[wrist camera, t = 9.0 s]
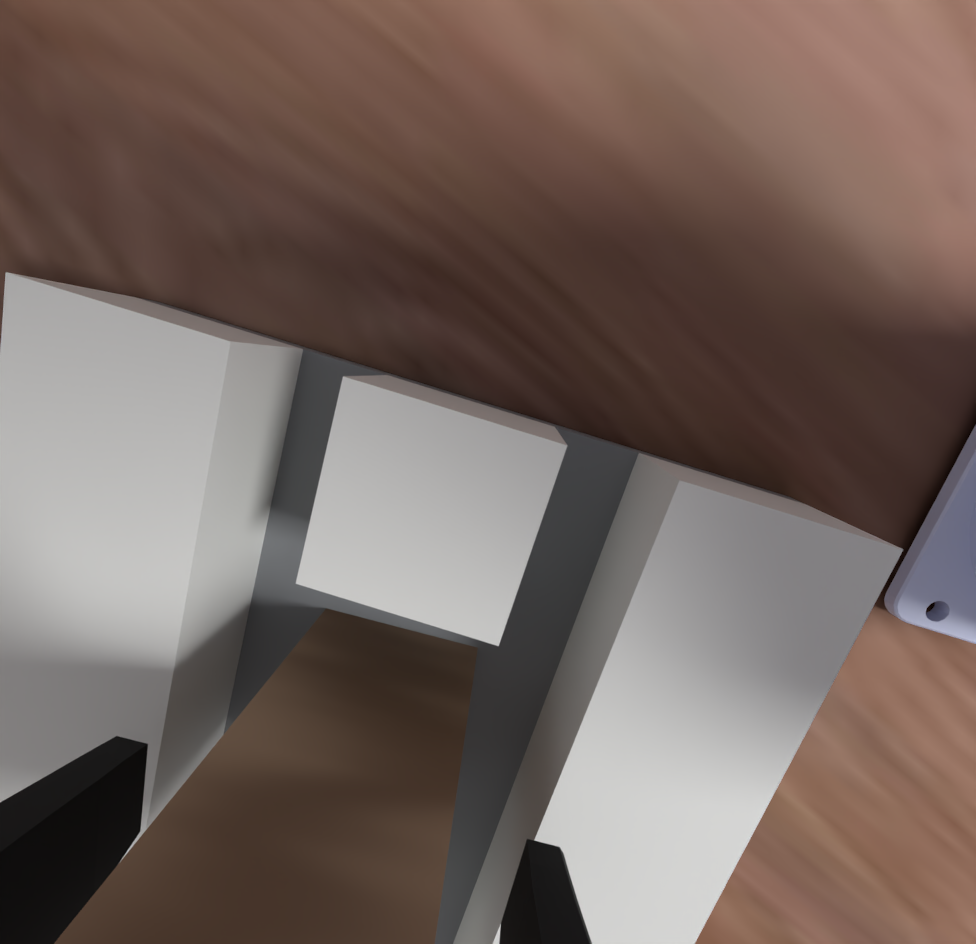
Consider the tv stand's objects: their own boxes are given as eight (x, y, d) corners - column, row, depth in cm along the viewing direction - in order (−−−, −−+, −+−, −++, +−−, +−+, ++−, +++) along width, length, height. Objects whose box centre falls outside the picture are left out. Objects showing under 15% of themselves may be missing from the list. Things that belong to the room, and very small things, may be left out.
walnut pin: (477, 647, 12) (370, 1377, 3) (442, 775, 13) (285, 1623, 4) (325, 608, 12) (-177, 1226, 3) (301, 737, 13) (-151, 1499, 4)
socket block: (789, 496, 12) (903, 549, 8) (573, 965, 15) (589, 1141, 12) (157, 301, 12) (5, 271, 8) (86, 816, 15) (-42, 947, 12)
